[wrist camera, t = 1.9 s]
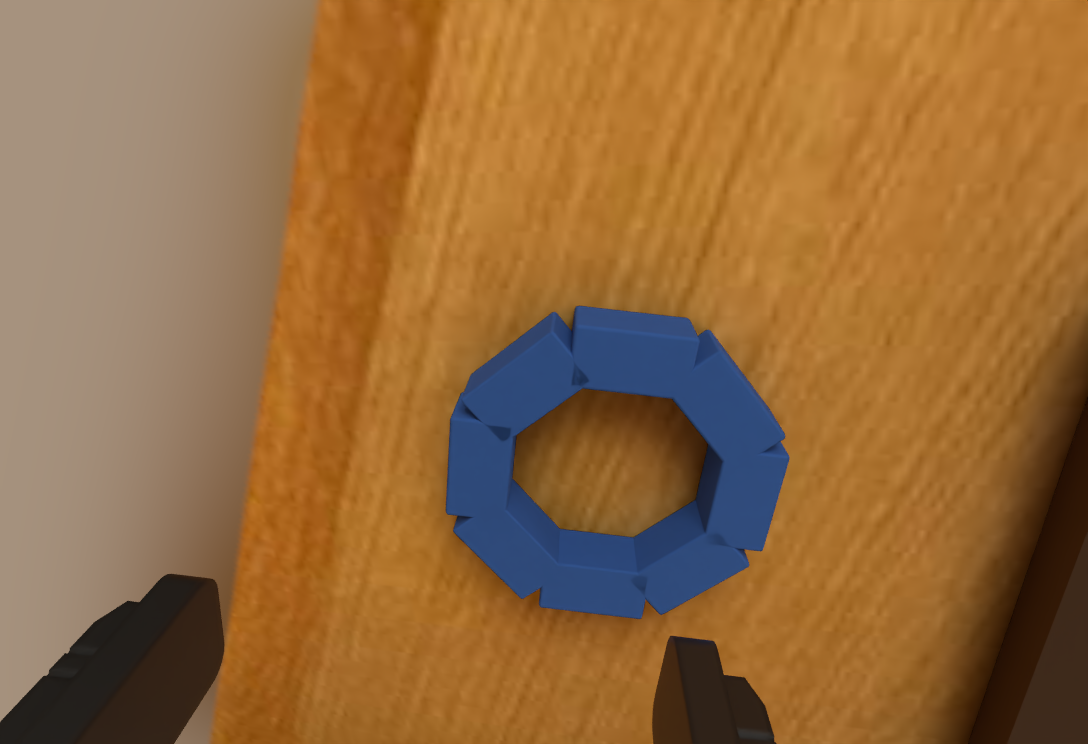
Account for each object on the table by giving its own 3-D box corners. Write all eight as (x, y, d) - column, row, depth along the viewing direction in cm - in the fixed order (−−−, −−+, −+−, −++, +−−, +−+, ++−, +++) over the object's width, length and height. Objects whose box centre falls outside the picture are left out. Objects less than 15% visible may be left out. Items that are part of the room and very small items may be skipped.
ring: (451, 559, 19) (440, 596, 18) (466, 292, 16) (455, 311, 15) (728, 591, 19) (739, 632, 18) (799, 329, 16) (821, 352, 15)
